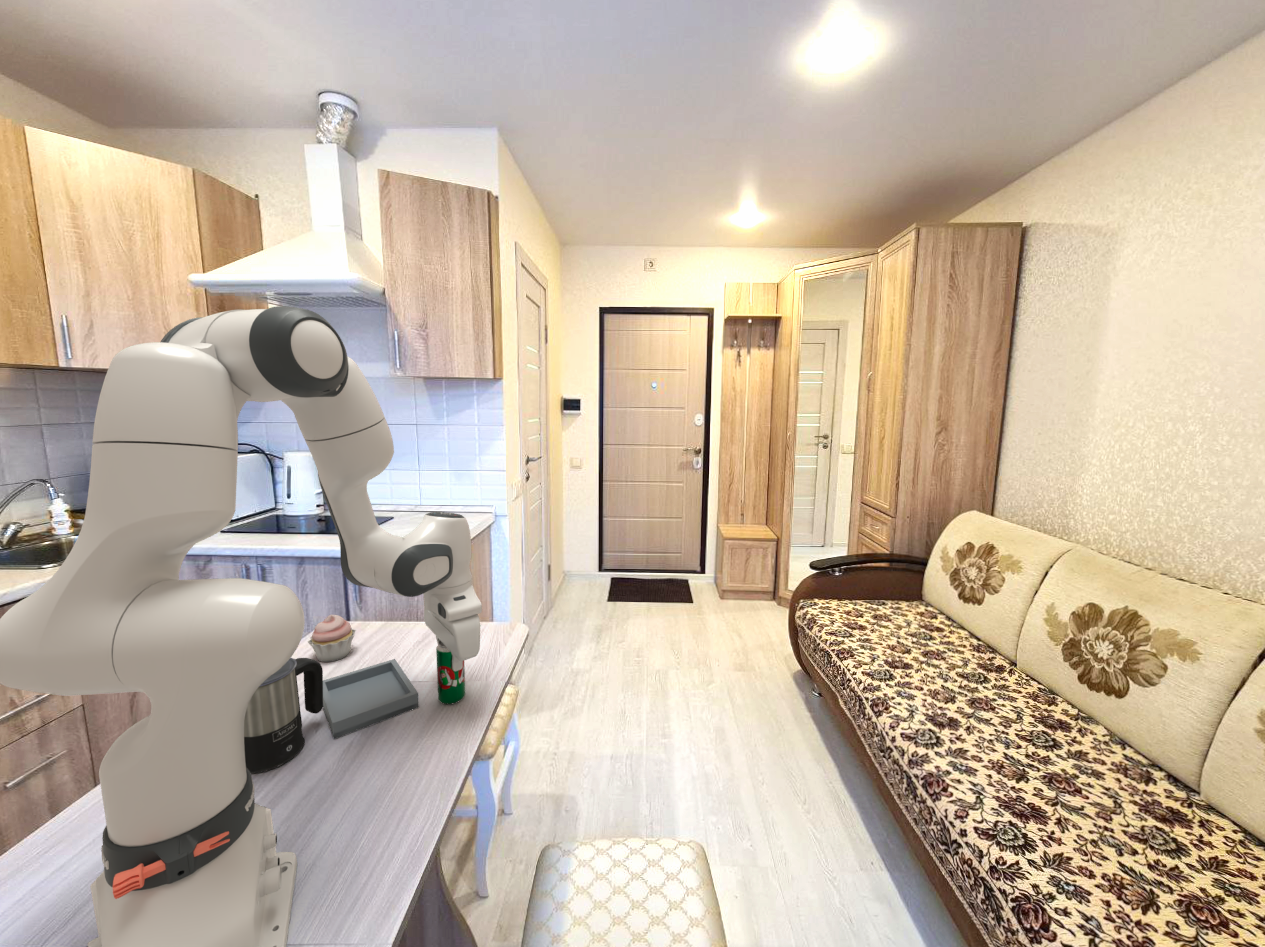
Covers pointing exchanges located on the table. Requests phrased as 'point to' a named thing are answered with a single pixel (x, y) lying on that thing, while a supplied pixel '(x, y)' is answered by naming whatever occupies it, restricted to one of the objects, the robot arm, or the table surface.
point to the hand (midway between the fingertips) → (450, 662)
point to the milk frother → (280, 715)
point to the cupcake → (332, 638)
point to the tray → (367, 697)
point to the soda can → (449, 677)
